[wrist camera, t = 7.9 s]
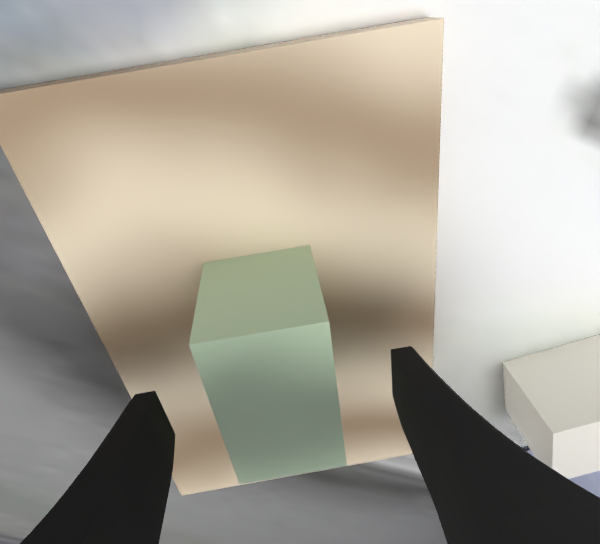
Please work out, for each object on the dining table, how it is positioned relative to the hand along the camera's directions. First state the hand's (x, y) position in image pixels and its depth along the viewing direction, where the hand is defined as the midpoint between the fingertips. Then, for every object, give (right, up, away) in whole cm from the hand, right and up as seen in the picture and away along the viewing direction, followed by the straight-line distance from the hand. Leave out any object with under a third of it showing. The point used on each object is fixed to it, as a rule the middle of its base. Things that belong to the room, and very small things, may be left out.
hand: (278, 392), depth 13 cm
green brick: (0, +2, +2) cm, 3 cm away
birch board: (0, +2, +4) cm, 4 cm away
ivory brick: (+13, -1, +7) cm, 15 cm away
